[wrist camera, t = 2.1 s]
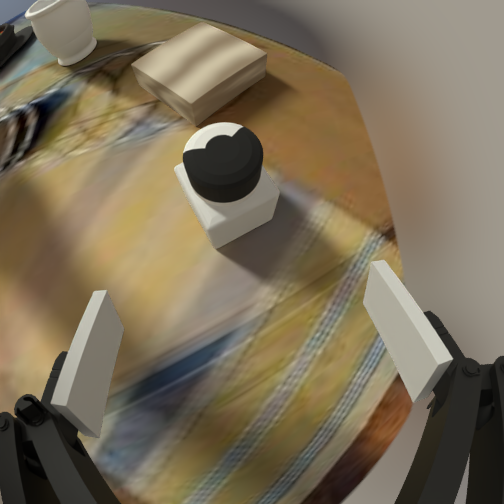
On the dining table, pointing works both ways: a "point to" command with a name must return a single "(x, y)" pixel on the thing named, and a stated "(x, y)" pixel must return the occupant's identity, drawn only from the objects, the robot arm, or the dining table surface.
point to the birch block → (200, 71)
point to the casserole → (12, 40)
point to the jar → (63, 28)
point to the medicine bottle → (227, 181)
